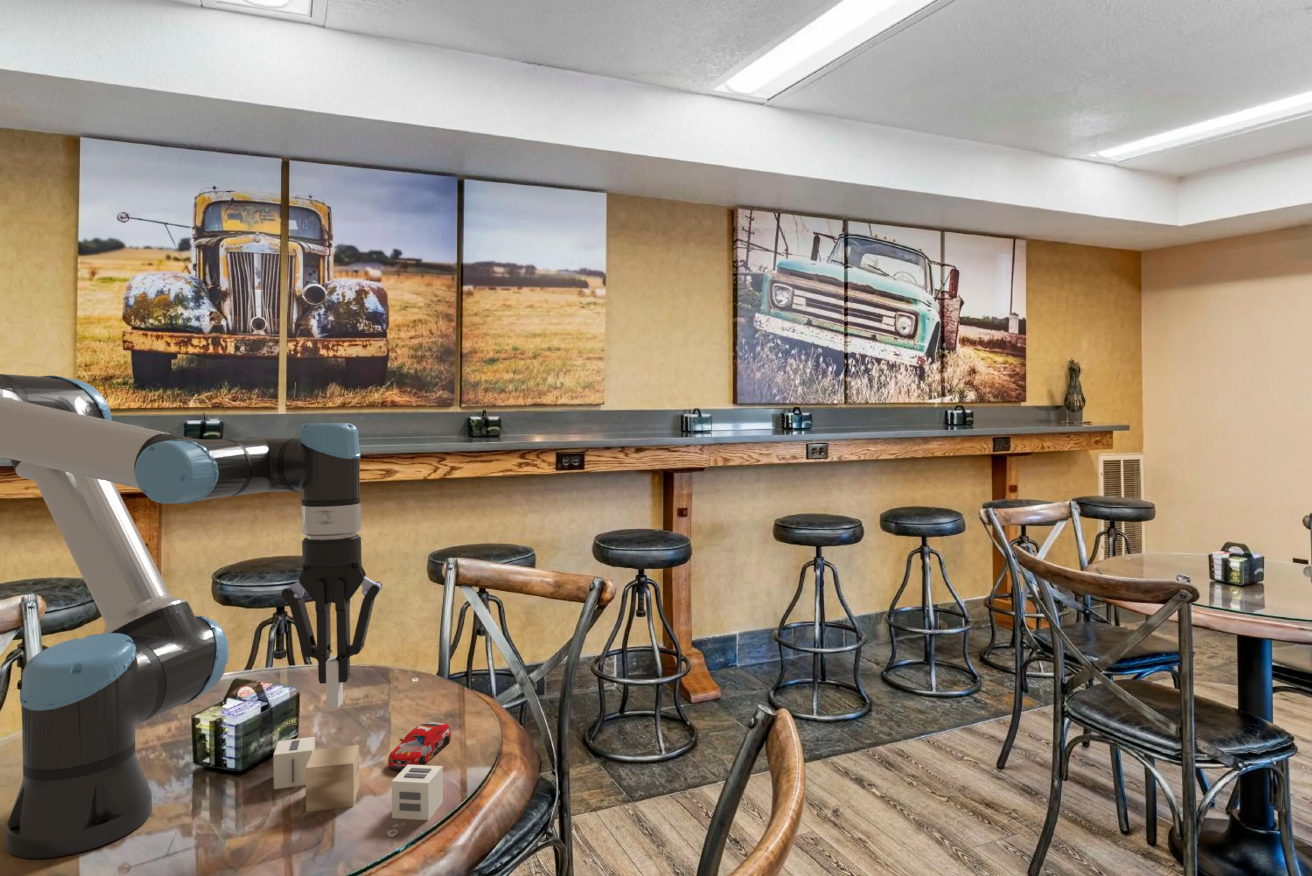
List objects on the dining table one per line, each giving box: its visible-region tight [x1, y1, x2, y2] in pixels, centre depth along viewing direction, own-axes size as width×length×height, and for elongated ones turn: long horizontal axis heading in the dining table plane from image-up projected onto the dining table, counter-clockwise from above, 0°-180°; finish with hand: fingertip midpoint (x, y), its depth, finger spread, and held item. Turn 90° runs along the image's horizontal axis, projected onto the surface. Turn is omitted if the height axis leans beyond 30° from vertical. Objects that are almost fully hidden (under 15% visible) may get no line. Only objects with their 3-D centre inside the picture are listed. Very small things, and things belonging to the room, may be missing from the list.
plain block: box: [305, 744, 360, 813], centre depth 108 cm, size 6×6×6 cm
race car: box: [387, 721, 452, 771], centre depth 122 cm, size 13×5×4 cm, turn 166°
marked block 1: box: [273, 736, 316, 790], centre depth 113 cm, size 5×6×5 cm
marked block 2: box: [391, 764, 444, 821], centre depth 105 cm, size 5×5×5 cm
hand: (334, 705), depth 107 cm, fingers closed
